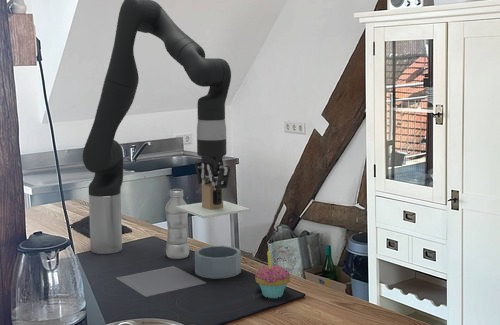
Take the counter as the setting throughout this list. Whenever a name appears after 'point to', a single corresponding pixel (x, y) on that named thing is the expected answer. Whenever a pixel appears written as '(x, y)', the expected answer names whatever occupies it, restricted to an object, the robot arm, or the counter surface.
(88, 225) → the dark slate chunk
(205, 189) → the lid
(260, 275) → the cupcake
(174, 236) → the plastic bottle
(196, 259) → the bowl
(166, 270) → the mat
